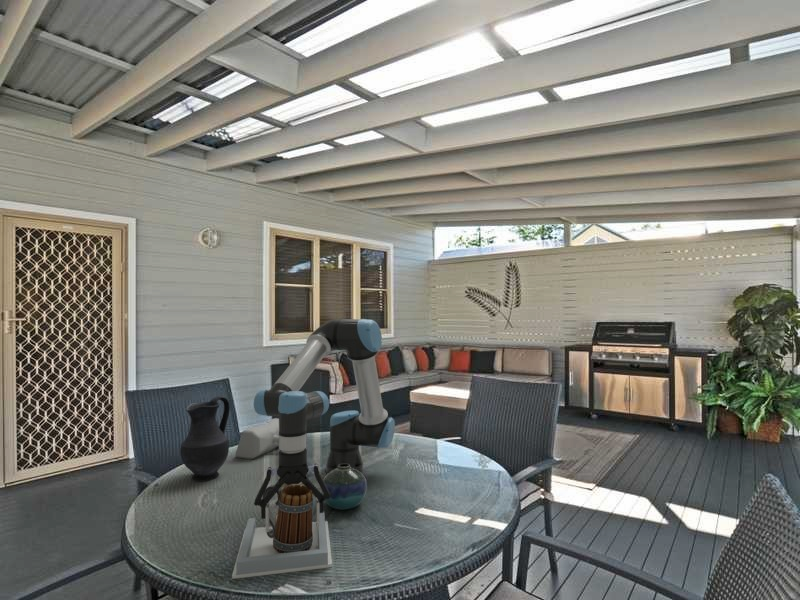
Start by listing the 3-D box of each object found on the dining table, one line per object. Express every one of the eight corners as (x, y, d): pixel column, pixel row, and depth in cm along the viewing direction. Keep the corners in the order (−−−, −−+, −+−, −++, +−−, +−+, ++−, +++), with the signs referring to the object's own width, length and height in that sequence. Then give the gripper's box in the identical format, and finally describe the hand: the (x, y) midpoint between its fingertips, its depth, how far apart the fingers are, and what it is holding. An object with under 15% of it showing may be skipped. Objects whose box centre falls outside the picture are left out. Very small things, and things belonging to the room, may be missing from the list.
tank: (264, 461, 196) (264, 432, 196) (234, 458, 201) (234, 429, 201) (296, 445, 219) (296, 419, 220) (268, 442, 225) (268, 416, 225)
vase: (329, 519, 141) (329, 476, 142) (314, 501, 155) (314, 462, 155) (374, 509, 148) (374, 468, 149) (356, 492, 162) (356, 455, 162)
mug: (319, 541, 126) (323, 487, 127) (298, 560, 116) (302, 501, 117) (272, 528, 132) (276, 476, 132) (248, 545, 122) (252, 489, 122)
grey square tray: (327, 523, 139) (327, 511, 139) (331, 567, 115) (331, 551, 115) (245, 531, 134) (245, 518, 134) (232, 578, 110) (232, 563, 110)
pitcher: (170, 481, 173) (171, 402, 174) (211, 464, 193) (212, 393, 193) (205, 488, 167) (205, 405, 167) (244, 469, 186) (244, 395, 187)
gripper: (337, 442, 131) (337, 516, 131) (247, 448, 126) (247, 525, 126) (339, 450, 124) (339, 528, 124) (243, 456, 119) (243, 538, 118)
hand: (293, 527), depth 125 cm, fingers open, 13 cm apart
